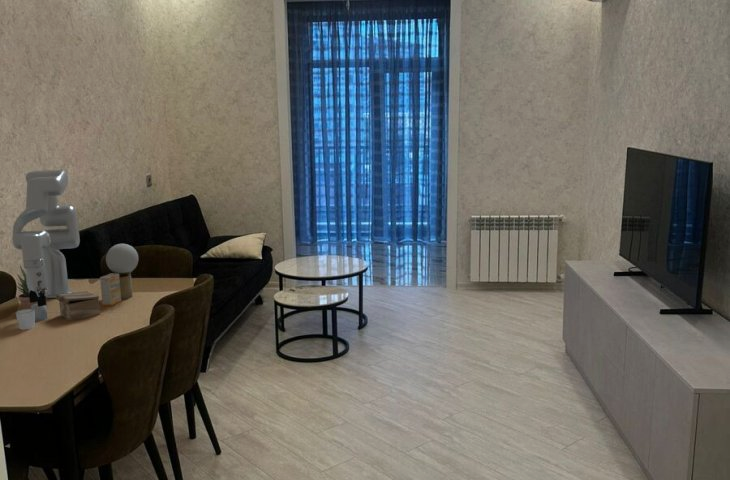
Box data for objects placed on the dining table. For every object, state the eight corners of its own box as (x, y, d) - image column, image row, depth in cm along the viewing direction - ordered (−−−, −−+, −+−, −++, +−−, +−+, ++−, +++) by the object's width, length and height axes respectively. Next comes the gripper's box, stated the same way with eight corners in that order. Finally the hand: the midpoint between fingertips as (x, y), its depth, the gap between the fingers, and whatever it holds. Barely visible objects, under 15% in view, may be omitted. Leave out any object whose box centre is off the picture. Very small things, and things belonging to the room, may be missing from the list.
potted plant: (47, 310, 295) (41, 255, 290) (25, 315, 288) (18, 258, 283) (38, 306, 301) (32, 252, 297) (16, 311, 295) (9, 255, 290)
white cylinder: (40, 325, 272) (38, 309, 271) (27, 331, 266) (24, 313, 264) (27, 324, 274) (25, 308, 273) (13, 329, 268) (11, 312, 267)
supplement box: (112, 306, 299) (109, 277, 296) (102, 305, 299) (99, 277, 297) (122, 301, 306) (119, 273, 304) (112, 300, 307) (109, 272, 305)
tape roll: (30, 319, 282) (29, 305, 281) (44, 316, 286) (43, 302, 285) (35, 321, 278) (33, 307, 277) (49, 318, 282) (47, 304, 281)
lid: (56, 299, 285) (56, 294, 285) (86, 296, 294) (87, 291, 294) (67, 304, 276) (67, 299, 276) (98, 301, 285) (98, 296, 285)
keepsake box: (60, 315, 287) (58, 299, 285) (88, 309, 295) (87, 293, 294) (71, 320, 278) (69, 304, 277) (100, 314, 286) (98, 298, 285)
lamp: (141, 291, 323) (137, 240, 318) (141, 298, 310) (137, 245, 305) (107, 294, 318) (102, 242, 314) (106, 302, 305) (101, 248, 301)
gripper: (50, 264, 274) (54, 305, 276) (35, 259, 286) (40, 299, 289) (31, 267, 269) (35, 309, 271) (17, 262, 281) (21, 302, 284)
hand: (38, 303), depth 280 cm, fingers open, 9 cm apart
